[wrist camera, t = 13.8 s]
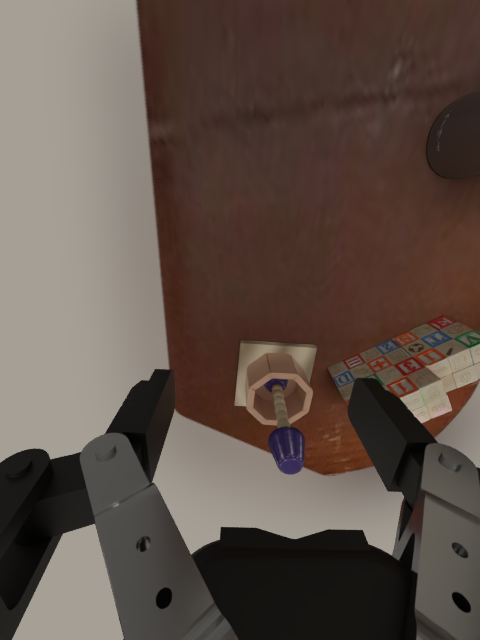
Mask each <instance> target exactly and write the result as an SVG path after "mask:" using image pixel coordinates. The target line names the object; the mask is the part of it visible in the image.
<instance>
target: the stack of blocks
mask: <svg viewBox="0 0 480 640" xmlns="http://www.w3.org/2000/svg"><path fill="white" fill-rule="evenodd" d="M327 369H328V371H329V373H330V375H331V377H332V379H333V381H334V383H335V384H336V386H337V388H338V391H339V393H340V394H341V396H342V398H343V399H344V401H345V403H346V405H347V407H348V404H349V400H350V396H351V392H352V389H353V385H354V381H355V379H356V378H375V379H377V380H378V381H379V383H380V384H381V385H382V386H383V387H384V389H385V390H389V391H390V392H391V393H393V394H394V395H396V396H397V397H399V398H400V399H401V400H402V402H403V403H404V404H405V405H406V406H407V407H408V409H409V410H410V411H411V412H412V413H413V414H414V417H416V418H417V419H418V420H419V421H420V422H421V423H423V422H425V421H428V420H430V418H435V417H437V416H439V415H442V414H444V413H447V412H449V411H452V408H451V405H450V402H449V399H448V396H447V395H446V392H449V391H451V390H453V389H456V388H459V387H462V386H464V385H467V384H469V383H472V382H474V381H477V380H478V379H480V332H478V331H476V330H472V329H471V328H469V327H467V326H465V325H463V324H461V323H459V322H456V321H455V320H453V319H451V318H449V317H447V316H441V317H439V318H437V319H435V320H433V321H431V322H429V323H427V324H423V325H421V326H419V327H416V328H414V329H412V330H410V331H408V332H405V333H403V334H401V335H399V336H396V337H394V338H392V339H391V340H388V341H386V342H384V343H382V344H380V345H377V346H376V347H373V348H371V349H369V350H367V351H364V352H362V353H360V354H357V355H355V356H353V357H350V358H348V359H346V360H344V361H341V362H339V363H337V364H334V365H332V366H330V367H328V368H327Z"/></svg>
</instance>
